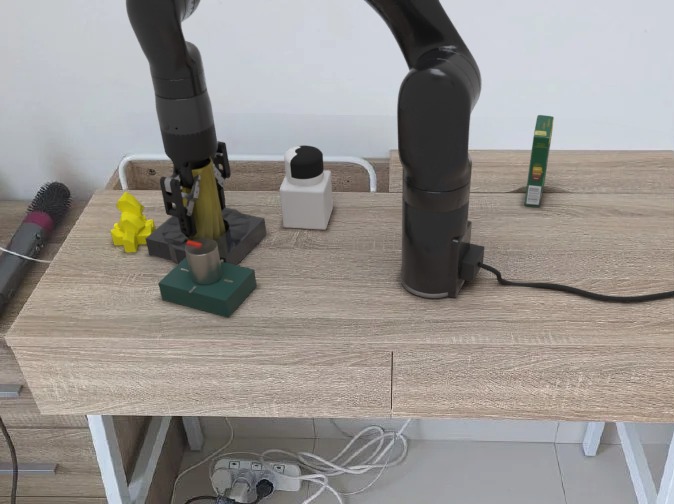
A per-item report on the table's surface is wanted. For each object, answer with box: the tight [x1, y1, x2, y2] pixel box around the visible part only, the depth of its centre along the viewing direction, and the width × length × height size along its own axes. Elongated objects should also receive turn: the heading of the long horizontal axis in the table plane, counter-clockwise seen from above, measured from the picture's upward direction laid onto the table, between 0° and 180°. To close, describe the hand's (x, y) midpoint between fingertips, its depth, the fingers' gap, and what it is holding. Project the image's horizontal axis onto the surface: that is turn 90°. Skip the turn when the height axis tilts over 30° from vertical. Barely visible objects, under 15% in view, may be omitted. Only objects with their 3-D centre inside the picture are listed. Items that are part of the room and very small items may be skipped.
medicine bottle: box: [278, 144, 334, 231], centre depth 125 cm, size 7×7×12 cm
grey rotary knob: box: [185, 238, 222, 285], centre depth 110 cm, size 4×4×5 cm
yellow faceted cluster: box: [110, 191, 157, 254], centre depth 122 cm, size 6×8×8 cm
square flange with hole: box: [145, 206, 267, 265], centre depth 122 cm, size 14×13×3 cm
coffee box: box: [524, 114, 555, 208], centre depth 131 cm, size 8×3×13 cm, turn 167°
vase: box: [182, 157, 226, 240], centre depth 118 cm, size 6×6×14 cm
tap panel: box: [157, 257, 258, 318], centre depth 112 cm, size 11×9×3 cm
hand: (204, 221), depth 120 cm, fingers open, 8 cm apart
